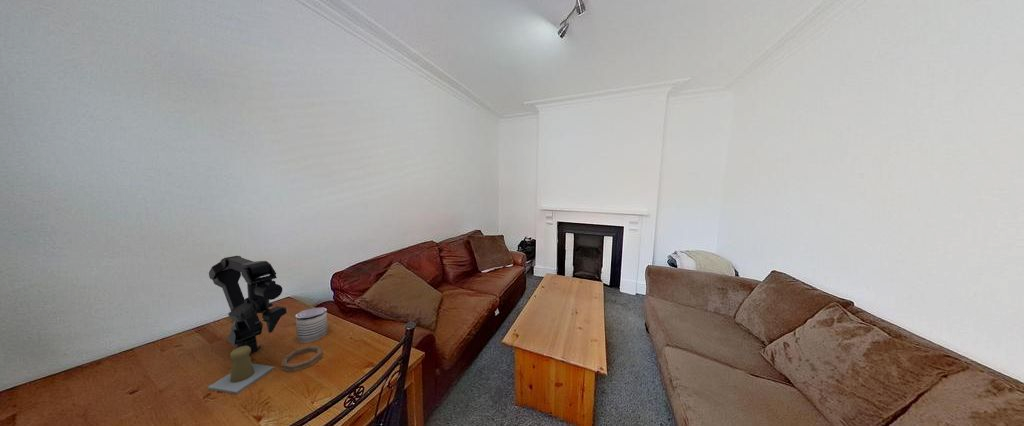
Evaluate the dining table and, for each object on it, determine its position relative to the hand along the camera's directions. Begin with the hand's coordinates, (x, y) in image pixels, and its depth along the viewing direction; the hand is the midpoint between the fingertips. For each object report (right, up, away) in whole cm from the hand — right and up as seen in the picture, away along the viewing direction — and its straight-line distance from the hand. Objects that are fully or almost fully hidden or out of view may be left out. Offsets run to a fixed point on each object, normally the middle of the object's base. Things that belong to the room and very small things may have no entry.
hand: (261, 330), depth 99 cm
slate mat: (+1, -14, -8) cm, 16 cm away
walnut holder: (+15, -13, +3) cm, 20 cm away
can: (+6, -11, +19) cm, 23 cm away
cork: (+1, -13, -8) cm, 15 cm away
